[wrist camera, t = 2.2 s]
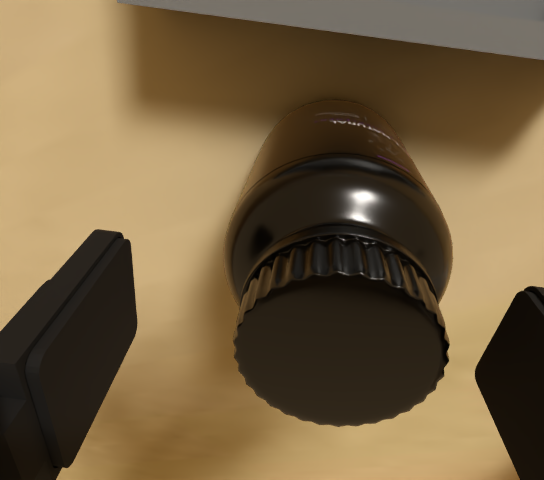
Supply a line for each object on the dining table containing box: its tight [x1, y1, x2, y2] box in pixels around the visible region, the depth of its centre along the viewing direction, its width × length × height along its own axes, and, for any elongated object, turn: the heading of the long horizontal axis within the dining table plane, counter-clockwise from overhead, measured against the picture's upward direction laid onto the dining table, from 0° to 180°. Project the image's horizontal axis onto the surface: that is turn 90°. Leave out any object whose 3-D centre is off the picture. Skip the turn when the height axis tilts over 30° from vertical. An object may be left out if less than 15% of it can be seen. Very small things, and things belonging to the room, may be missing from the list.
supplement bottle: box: [223, 100, 453, 427], centre depth 14 cm, size 7×7×12 cm
